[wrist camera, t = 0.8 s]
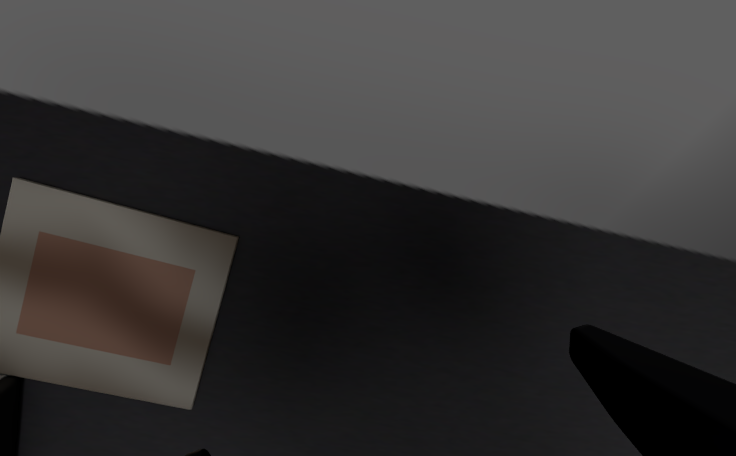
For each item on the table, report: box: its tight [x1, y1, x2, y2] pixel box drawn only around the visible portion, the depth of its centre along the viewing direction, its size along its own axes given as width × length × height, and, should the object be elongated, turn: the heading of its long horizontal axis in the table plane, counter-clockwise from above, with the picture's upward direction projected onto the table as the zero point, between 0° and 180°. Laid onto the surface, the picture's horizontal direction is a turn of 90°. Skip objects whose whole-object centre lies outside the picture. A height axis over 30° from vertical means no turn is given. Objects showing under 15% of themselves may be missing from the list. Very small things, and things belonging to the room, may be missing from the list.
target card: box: [0, 178, 239, 410], centre depth 21 cm, size 11×12×1 cm
